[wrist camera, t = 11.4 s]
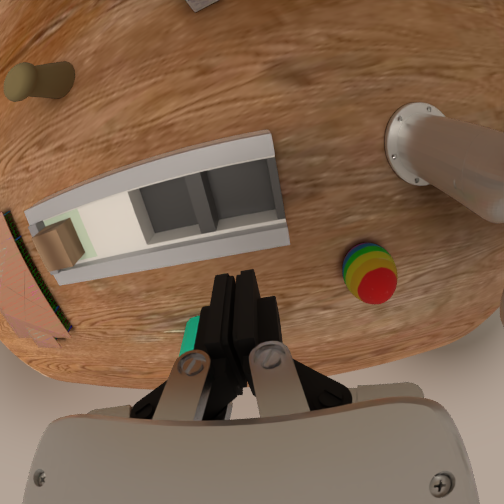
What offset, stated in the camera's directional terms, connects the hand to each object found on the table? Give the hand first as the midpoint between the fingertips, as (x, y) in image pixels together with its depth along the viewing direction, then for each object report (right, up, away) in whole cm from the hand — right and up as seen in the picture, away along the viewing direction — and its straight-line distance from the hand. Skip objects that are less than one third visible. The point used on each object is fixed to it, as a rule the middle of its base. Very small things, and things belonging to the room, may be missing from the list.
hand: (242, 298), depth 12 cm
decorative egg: (+18, +1, +31) cm, 36 cm away
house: (-53, -5, +35) cm, 63 cm away
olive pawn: (-28, +27, +16) cm, 42 cm away
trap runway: (-15, +8, +26) cm, 31 cm away
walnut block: (-28, +4, +24) cm, 38 cm away
